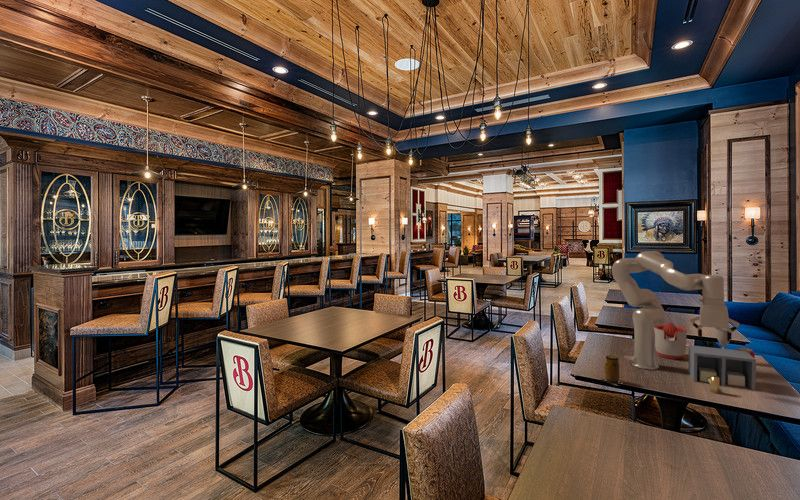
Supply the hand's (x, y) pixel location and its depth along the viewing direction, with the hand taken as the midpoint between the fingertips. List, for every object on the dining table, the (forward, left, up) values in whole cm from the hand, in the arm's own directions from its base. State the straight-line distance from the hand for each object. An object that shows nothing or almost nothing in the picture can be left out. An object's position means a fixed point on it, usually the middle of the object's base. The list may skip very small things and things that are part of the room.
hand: (714, 339), depth 171 cm
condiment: (-40, -11, -23) cm, 48 cm away
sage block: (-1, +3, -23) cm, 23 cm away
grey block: (+10, +12, -23) cm, 28 cm away
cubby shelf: (+5, +13, -23) cm, 27 cm away
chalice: (+14, +50, -23) cm, 57 cm away
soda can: (+19, +33, -23) cm, 44 cm away
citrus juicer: (-11, +45, -23) cm, 52 cm away
